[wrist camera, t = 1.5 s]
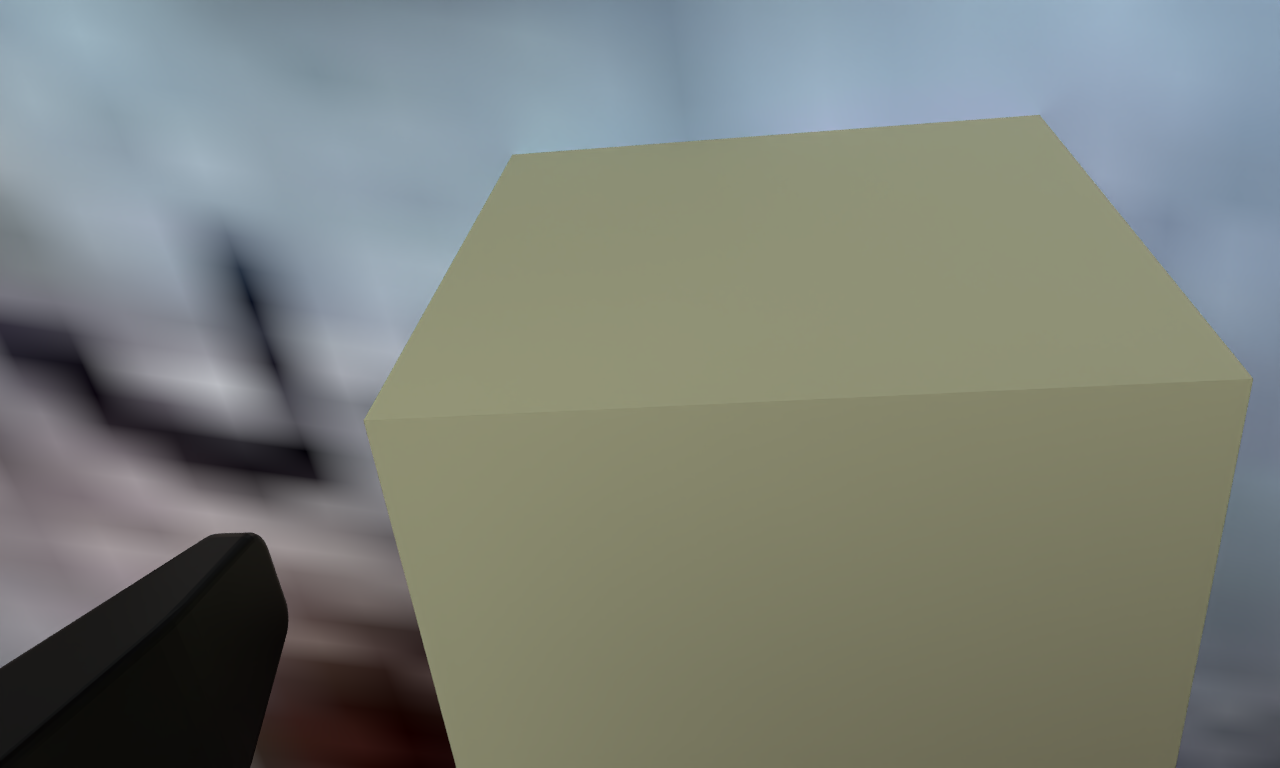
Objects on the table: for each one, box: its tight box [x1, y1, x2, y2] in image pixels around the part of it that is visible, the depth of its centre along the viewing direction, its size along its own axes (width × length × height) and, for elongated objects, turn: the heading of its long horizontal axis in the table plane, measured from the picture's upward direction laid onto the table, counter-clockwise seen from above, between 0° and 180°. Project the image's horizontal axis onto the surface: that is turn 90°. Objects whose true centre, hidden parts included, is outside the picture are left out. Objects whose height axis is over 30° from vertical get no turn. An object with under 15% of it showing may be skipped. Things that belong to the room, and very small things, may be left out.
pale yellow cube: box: [364, 115, 1253, 768], centre depth 10 cm, size 5×5×5 cm
